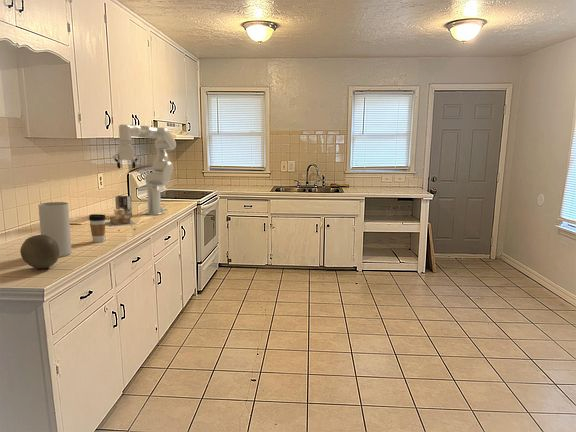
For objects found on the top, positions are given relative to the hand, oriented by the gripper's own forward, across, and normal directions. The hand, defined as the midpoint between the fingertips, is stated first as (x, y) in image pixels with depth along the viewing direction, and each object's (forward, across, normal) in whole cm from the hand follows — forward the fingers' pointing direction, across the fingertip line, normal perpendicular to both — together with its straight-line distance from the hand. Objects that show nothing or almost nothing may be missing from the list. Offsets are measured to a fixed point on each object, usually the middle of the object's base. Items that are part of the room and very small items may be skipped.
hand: (126, 168), depth 288 cm
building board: (+36, +10, +16) cm, 41 cm away
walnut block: (+35, +10, +16) cm, 40 cm away
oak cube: (+31, +10, +16) cm, 36 cm away
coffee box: (+36, +1, -7) cm, 37 cm away
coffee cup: (+36, +32, +55) cm, 73 cm away
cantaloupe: (+36, +64, +95) cm, 120 cm away
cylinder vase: (+36, +55, +73) cm, 98 cm away
